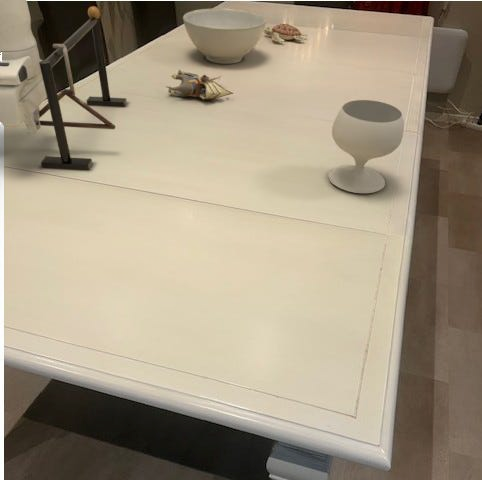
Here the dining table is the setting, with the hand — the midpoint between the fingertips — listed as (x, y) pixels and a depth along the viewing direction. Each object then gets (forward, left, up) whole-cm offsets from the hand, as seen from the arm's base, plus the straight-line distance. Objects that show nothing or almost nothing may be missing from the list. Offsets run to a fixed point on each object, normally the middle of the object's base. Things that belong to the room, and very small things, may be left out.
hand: (34, 130), depth 104 cm
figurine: (+48, +19, -6) cm, 52 cm away
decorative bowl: (+70, +49, -6) cm, 85 cm away
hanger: (+8, -2, 0) cm, 8 cm away
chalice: (+58, -39, -6) cm, 70 cm away
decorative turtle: (+103, +63, -6) cm, 121 cm away
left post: (+22, +23, -5) cm, 32 cm away
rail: (+13, +7, -5) cm, 15 cm away
